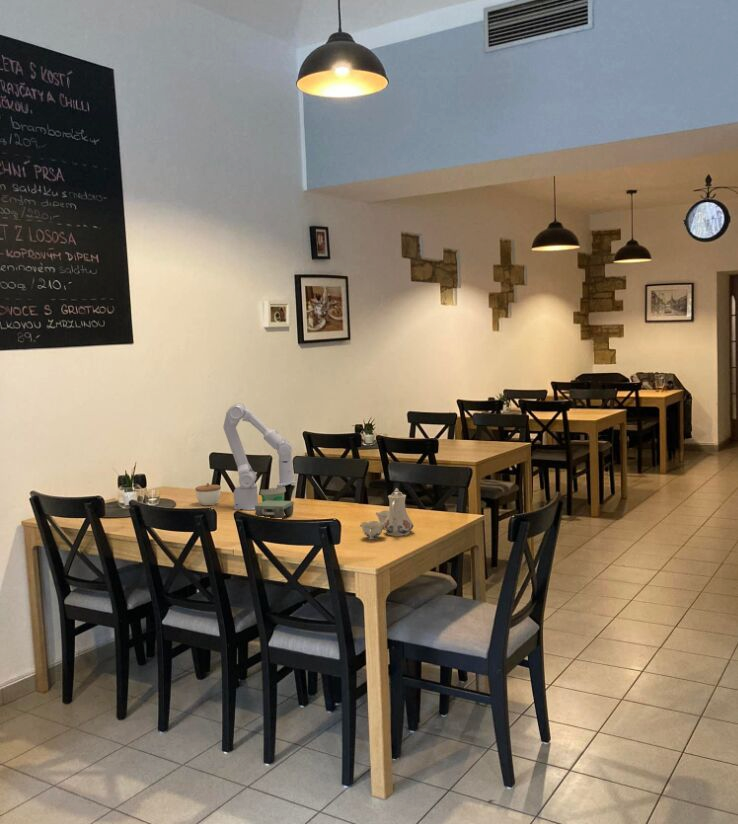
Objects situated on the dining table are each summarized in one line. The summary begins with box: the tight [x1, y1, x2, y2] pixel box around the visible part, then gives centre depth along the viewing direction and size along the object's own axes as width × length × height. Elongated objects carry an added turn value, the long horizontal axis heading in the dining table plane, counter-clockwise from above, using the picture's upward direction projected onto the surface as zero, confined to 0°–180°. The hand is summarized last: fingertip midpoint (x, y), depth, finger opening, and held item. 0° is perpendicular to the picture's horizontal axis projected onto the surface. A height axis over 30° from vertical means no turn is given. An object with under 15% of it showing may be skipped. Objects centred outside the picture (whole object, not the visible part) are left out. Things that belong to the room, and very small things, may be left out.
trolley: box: [254, 500, 294, 519], centre depth 318 cm, size 12×15×6 cm
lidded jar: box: [194, 482, 222, 506], centre depth 351 cm, size 11×11×9 cm
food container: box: [259, 486, 286, 512], centre depth 329 cm, size 12×6×10 cm, turn 142°
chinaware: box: [359, 487, 414, 541], centre depth 286 cm, size 28×17×17 cm, turn 166°
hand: (287, 503), depth 339 cm, fingers closed
